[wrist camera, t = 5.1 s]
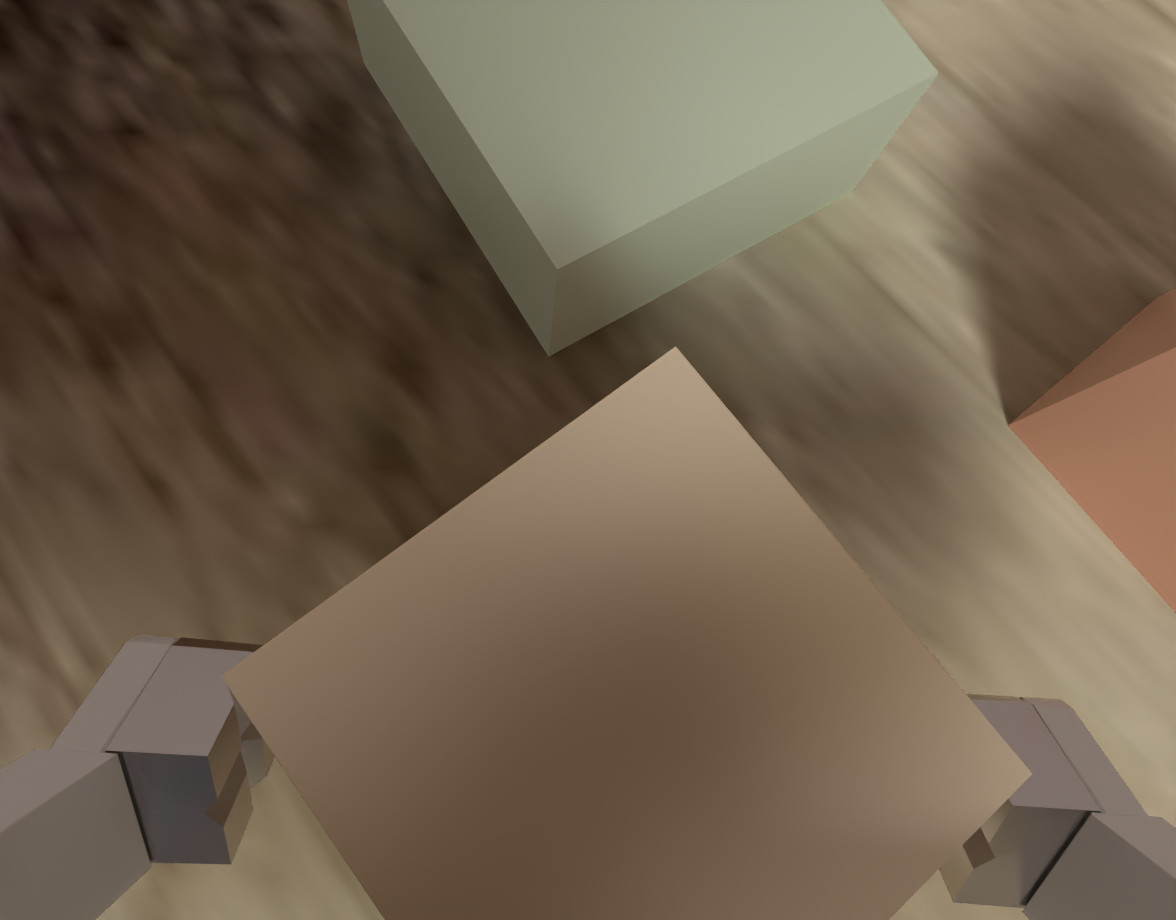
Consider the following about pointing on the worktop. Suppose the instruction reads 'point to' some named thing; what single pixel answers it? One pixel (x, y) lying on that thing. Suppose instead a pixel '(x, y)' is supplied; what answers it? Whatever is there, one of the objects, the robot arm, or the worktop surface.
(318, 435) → the worktop surface
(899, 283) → the worktop surface
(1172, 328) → the salmon pink cube
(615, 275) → the green base block
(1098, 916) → the robot arm
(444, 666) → the beech pillar
